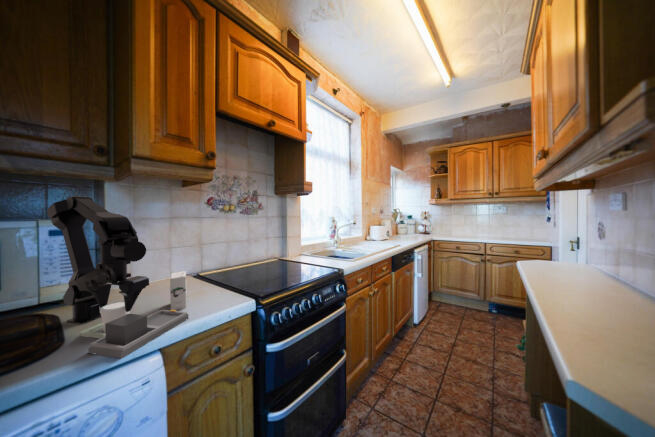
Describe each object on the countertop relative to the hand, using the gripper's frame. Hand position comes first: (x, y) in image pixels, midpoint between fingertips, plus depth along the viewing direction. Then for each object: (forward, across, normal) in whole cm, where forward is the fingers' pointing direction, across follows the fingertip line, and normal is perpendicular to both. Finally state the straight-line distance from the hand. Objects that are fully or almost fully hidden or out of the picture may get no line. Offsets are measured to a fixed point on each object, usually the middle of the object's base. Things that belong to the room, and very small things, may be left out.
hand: (115, 310), depth 71 cm
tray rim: (+6, 0, 0) cm, 6 cm away
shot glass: (+6, 0, 0) cm, 6 cm away
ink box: (+6, +5, +18) cm, 20 cm away
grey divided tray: (+6, +12, -1) cm, 13 cm away
